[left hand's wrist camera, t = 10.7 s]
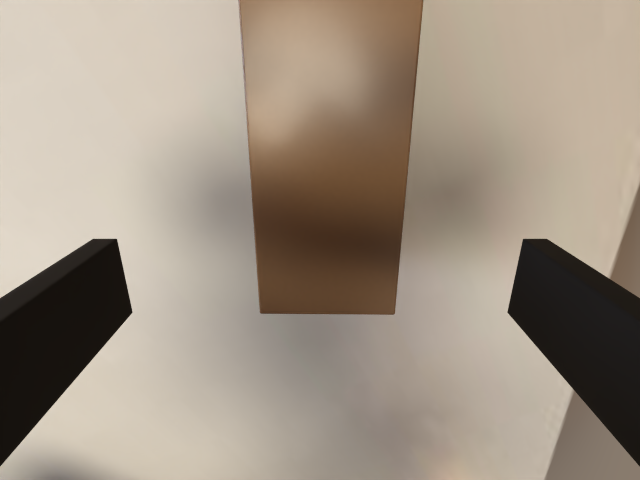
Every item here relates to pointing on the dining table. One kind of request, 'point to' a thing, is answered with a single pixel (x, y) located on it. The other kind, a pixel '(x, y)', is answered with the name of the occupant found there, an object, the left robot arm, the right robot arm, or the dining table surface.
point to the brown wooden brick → (329, 148)
